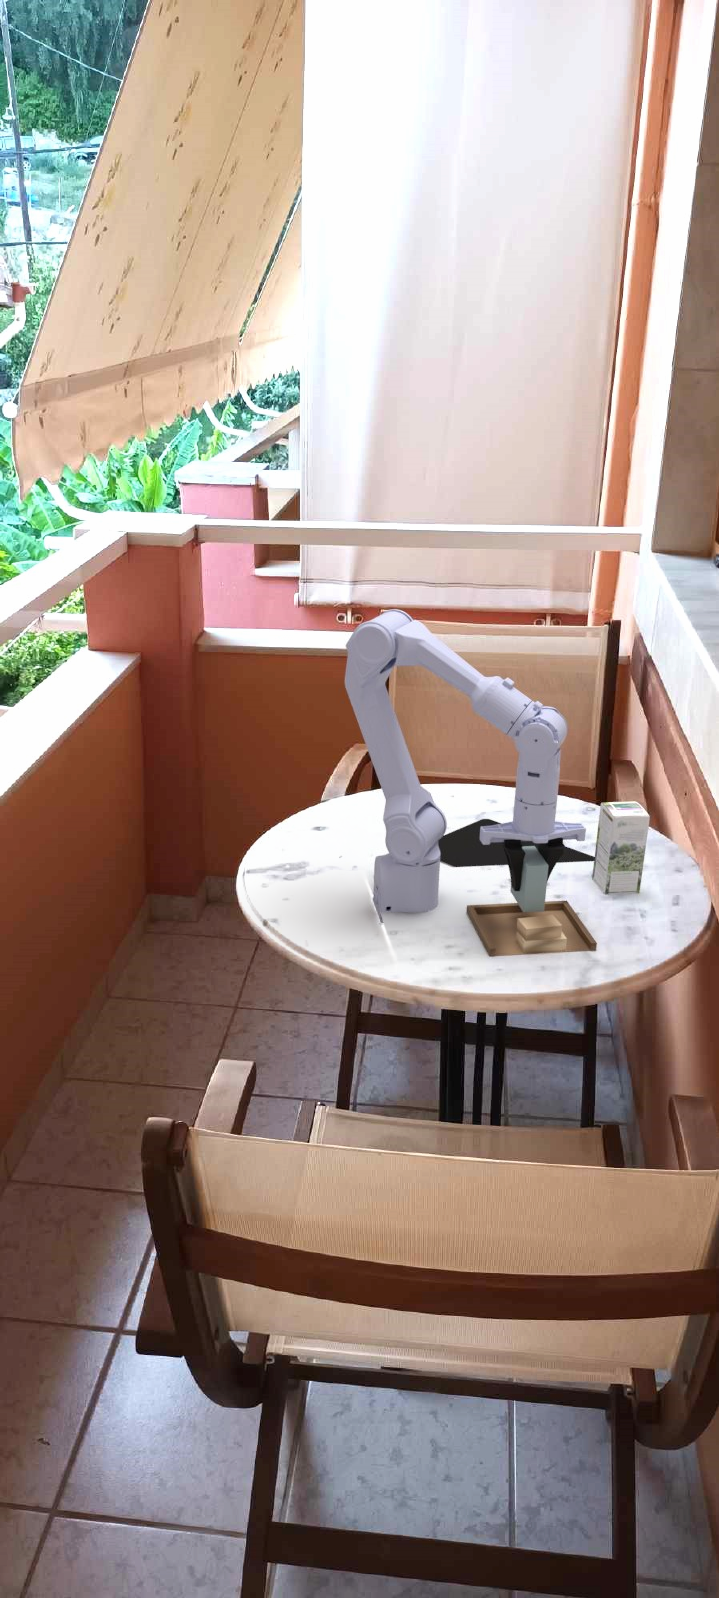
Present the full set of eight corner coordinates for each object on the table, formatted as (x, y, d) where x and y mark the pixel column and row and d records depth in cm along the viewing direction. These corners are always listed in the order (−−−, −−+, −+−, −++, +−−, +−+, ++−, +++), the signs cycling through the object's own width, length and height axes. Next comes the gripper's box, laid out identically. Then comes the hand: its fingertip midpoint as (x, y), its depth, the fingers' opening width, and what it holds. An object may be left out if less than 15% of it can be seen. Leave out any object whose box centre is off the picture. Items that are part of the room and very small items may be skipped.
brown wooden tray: (488, 965, 155) (489, 948, 154) (465, 921, 167) (467, 905, 166) (595, 959, 157) (596, 943, 156) (565, 916, 169) (566, 900, 168)
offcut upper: (525, 941, 154) (526, 929, 154) (516, 930, 157) (517, 918, 157) (561, 937, 156) (562, 925, 155) (551, 926, 159) (552, 914, 158)
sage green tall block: (523, 912, 158) (527, 866, 156) (510, 891, 164) (514, 846, 162) (544, 911, 159) (548, 865, 156) (530, 890, 165) (534, 845, 162)
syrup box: (625, 885, 179) (635, 799, 174) (639, 902, 174) (650, 813, 168) (590, 887, 178) (599, 800, 173) (603, 904, 173) (613, 815, 168)
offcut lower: (522, 952, 155) (523, 940, 154) (516, 940, 158) (517, 929, 158) (565, 950, 156) (566, 938, 155) (557, 938, 159) (558, 926, 158)
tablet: (410, 848, 190) (484, 817, 203) (410, 852, 190) (484, 820, 204) (545, 903, 173) (616, 864, 186) (545, 907, 173) (616, 868, 187)
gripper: (491, 810, 151) (484, 902, 156) (596, 807, 153) (586, 898, 158) (478, 791, 158) (472, 880, 163) (579, 788, 160) (570, 876, 165)
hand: (527, 887), depth 161 cm, fingers closed on sage green tall block, 3 cm apart
